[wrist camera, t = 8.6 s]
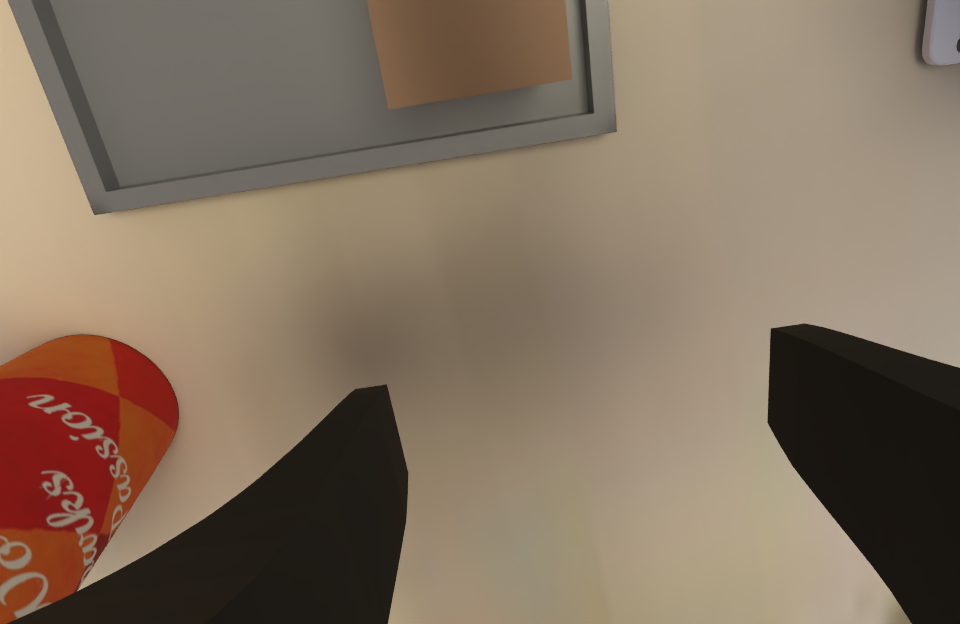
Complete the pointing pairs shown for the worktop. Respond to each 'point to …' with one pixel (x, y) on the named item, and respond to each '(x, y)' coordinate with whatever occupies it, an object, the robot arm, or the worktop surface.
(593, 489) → the worktop surface
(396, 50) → the walnut block
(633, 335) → the worktop surface
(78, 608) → the robot arm
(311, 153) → the parts tray
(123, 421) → the paper cup
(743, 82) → the worktop surface
